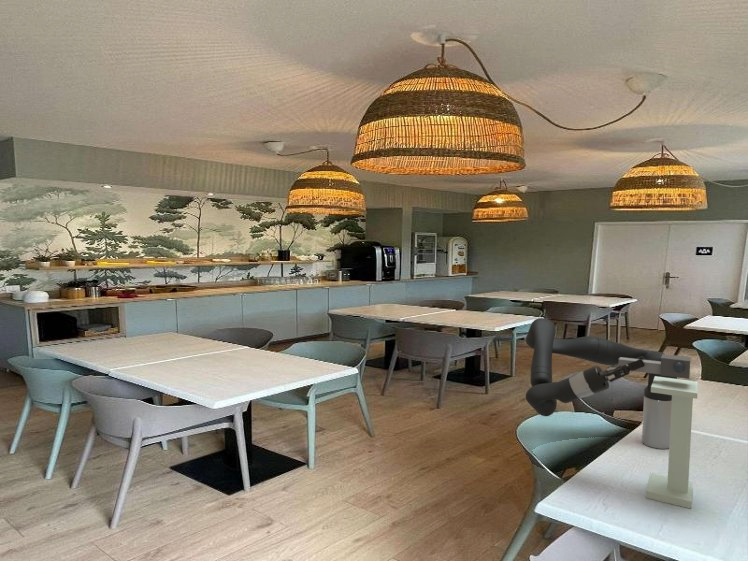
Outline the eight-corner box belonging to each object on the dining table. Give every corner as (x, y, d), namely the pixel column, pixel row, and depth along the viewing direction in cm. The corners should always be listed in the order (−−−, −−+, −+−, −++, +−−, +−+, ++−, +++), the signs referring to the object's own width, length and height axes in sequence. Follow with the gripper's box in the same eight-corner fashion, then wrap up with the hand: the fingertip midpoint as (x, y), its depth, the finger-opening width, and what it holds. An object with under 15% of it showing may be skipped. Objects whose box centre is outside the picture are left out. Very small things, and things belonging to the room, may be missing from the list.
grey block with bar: (620, 365, 157) (621, 349, 156) (689, 373, 147) (690, 356, 147) (617, 370, 151) (617, 353, 150) (689, 379, 141) (690, 361, 141)
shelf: (649, 478, 157) (654, 376, 155) (692, 488, 152) (697, 381, 149) (645, 497, 146) (651, 386, 143) (691, 508, 140) (697, 393, 137)
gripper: (598, 388, 164) (652, 367, 155) (590, 399, 152) (648, 378, 143) (586, 366, 166) (639, 345, 157) (577, 376, 154) (634, 353, 145)
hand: (643, 361), depth 150 cm, fingers closed on grey block with bar, 3 cm apart
